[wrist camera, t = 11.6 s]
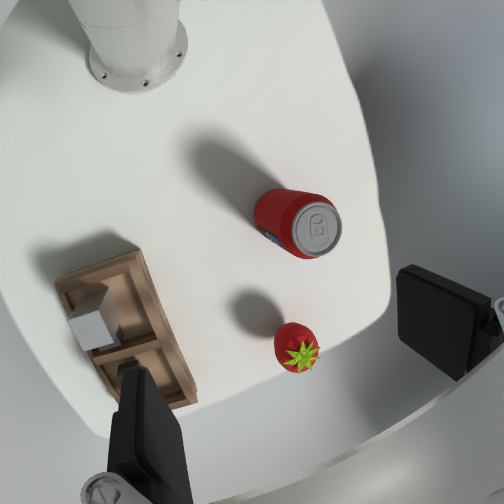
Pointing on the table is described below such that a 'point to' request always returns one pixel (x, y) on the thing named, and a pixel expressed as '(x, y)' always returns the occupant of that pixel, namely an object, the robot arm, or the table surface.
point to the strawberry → (296, 347)
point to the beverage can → (299, 222)
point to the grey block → (97, 321)
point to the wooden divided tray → (133, 327)
